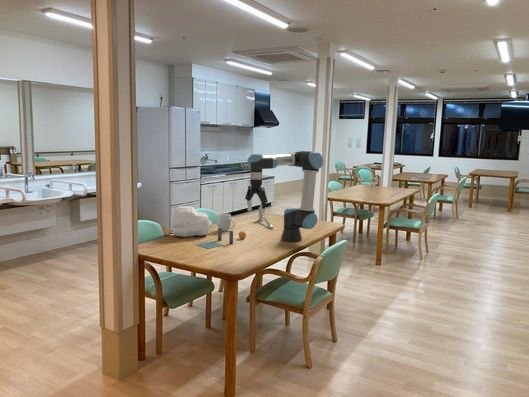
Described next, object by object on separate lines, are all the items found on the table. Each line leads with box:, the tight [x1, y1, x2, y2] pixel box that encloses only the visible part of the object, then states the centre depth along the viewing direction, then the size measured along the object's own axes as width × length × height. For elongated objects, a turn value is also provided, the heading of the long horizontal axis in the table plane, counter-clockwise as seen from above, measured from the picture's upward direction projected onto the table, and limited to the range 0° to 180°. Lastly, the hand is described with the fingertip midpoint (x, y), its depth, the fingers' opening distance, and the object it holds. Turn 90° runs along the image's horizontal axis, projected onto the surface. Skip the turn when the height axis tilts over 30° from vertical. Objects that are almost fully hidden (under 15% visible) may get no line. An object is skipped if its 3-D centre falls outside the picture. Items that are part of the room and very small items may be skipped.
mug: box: [216, 212, 236, 232], centre depth 346 cm, size 15×11×13 cm
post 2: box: [228, 230, 234, 245], centre depth 306 cm, size 3×3×9 cm
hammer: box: [257, 204, 274, 230], centre depth 374 cm, size 5×16×40 cm
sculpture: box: [171, 205, 213, 238], centre depth 330 cm, size 26×22×30 cm
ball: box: [238, 230, 247, 240], centre depth 321 cm, size 6×6×6 cm
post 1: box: [217, 227, 223, 242], centre depth 314 cm, size 3×3×9 cm
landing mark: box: [195, 241, 224, 250], centre depth 301 cm, size 14×14×1 cm
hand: (256, 212), depth 279 cm, fingers open, 13 cm apart
